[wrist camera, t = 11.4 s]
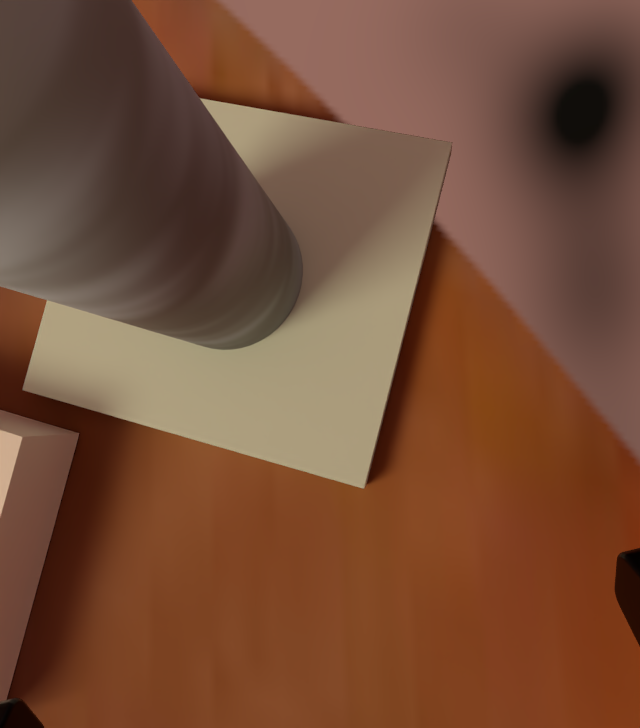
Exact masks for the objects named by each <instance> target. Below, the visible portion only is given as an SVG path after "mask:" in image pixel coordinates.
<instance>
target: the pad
mask: <svg viewBox="0 0 640 728" xmlns="http://www.w3.org/2000/svg"><path fill="white" fill-rule="evenodd" d="M200 100H201V101H202V102H203V104H204V105H205V107H206V108H207V110H208V111H209V112H210V114H211V115H212V117H213V118H214V120H215V121H216V122H217V124H218V125H219V127H220V128H221V130H222V131H223V133H224V134H225V135H226V137H227V138H228V140H229V141H230V143H231V144H232V145H233V147H234V148H235V150H236V151H237V153H238V154H239V156H240V157H241V158H242V160H243V161H244V163H245V164H246V166H247V167H248V168H249V170H250V171H251V173H252V174H253V176H254V177H255V178H256V180H257V181H258V183H259V184H260V186H261V187H262V189H263V190H264V191H265V193H266V194H267V196H268V197H269V199H270V200H271V201H272V203H273V204H274V206H275V207H276V209H277V210H278V211H279V213H280V214H281V216H282V217H283V219H284V220H285V222H286V223H287V224H288V226H289V227H290V229H291V231H292V232H293V234H294V236H295V238H296V240H297V242H298V245H299V248H300V252H301V256H302V263H303V277H302V285H301V289H300V293H299V296H298V298H297V301H296V303H295V306H294V307H293V309H292V311H291V313H290V314H289V316H288V317H287V318H286V320H285V321H284V322H283V323H282V324H281V325H280V326H279V328H278V329H277V330H275V331H274V332H273V333H272V334H270V335H269V336H268V337H266V338H264V339H263V340H261V341H259V342H257V343H255V344H253V345H250V346H247V347H243V348H239V349H233V350H218V349H211V348H207V347H203V346H200V345H196V344H193V343H190V342H186V341H183V340H180V339H176V338H173V337H169V336H166V335H163V334H159V333H156V332H153V331H149V330H146V329H143V328H139V327H136V326H132V325H129V324H126V323H122V322H119V321H116V320H112V319H109V318H106V317H102V316H99V315H95V314H92V313H89V312H85V311H82V310H79V309H75V308H72V307H69V306H65V305H62V304H58V303H55V302H52V301H48V300H47V303H46V306H45V310H44V313H43V317H42V321H41V324H40V328H39V331H38V335H37V339H36V342H35V346H34V349H33V353H32V357H31V360H30V364H29V367H28V371H27V375H26V378H25V382H24V385H23V389H22V390H24V391H27V392H31V393H34V394H38V395H41V396H44V397H48V398H51V399H55V400H58V401H62V402H65V403H69V404H72V405H76V406H79V407H83V408H86V409H90V410H93V411H96V412H100V413H103V414H107V415H110V416H114V417H117V418H121V419H124V420H128V421H131V422H135V423H138V424H141V425H145V426H148V427H152V428H155V429H159V430H162V431H166V432H169V433H173V434H176V435H180V436H183V437H187V438H190V439H193V440H197V441H200V442H204V443H207V444H211V445H214V446H218V447H221V448H225V449H228V450H232V451H235V452H238V453H242V454H245V455H249V456H252V457H256V458H259V459H263V460H266V461H270V462H273V463H277V464H280V465H284V466H287V467H290V468H294V469H297V470H301V471H304V472H308V473H311V474H315V475H318V476H322V477H325V478H329V479H332V480H336V481H339V482H342V483H346V484H349V485H353V486H356V487H360V488H363V489H364V488H365V487H366V485H367V481H368V477H369V473H370V469H371V465H372V461H373V457H374V453H375V449H376V445H377V442H378V438H379V434H380V430H381V426H382V422H383V418H384V414H385V410H386V406H387V402H388V398H389V394H390V391H391V387H392V383H393V379H394V375H395V371H396V367H397V363H398V359H399V355H400V351H401V347H402V344H403V340H404V336H405V332H406V328H407V324H408V320H409V316H410V312H411V308H412V304H413V300H414V297H415V293H416V289H417V285H418V281H419V277H420V273H421V269H422V265H423V261H424V257H425V253H426V249H427V246H428V242H429V238H430V234H431V230H432V226H433V222H434V218H435V214H436V210H437V206H438V202H439V198H440V194H441V191H442V187H443V183H444V179H445V175H446V171H447V167H448V163H449V159H450V155H451V149H452V142H446V141H441V140H435V139H429V138H424V137H418V136H412V135H407V134H401V133H395V132H389V131H384V130H377V129H372V128H366V127H361V126H355V125H349V124H344V123H338V122H332V121H327V120H321V119H315V118H309V117H304V116H298V115H292V114H287V113H281V112H275V111H269V110H264V109H258V108H252V107H247V106H241V105H235V104H229V103H224V102H218V101H212V100H207V99H201V98H200Z"/></svg>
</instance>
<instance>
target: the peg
mask: <svg viewBox="0 0 640 728" xmlns="http://www.w3.org/2000/svg"><path fill="white" fill-rule="evenodd" d="M302 277H303V263H302V256H301V252H300V248H299V245H298V242H297V240H296V238H295V236H294V234H293V232H292V231H291V229H290V227H289V226H288V224H287V223H286V222H285V220H284V219H283V217H282V216H281V214H280V213H279V211H278V210H277V209H276V207H275V206H274V204H273V203H272V201H271V200H270V199H269V197H268V196H267V194H266V193H265V191H264V190H263V189H262V187H261V186H260V184H259V183H258V181H257V180H256V178H255V177H254V176H253V174H252V173H251V171H250V170H249V168H248V167H247V166H246V164H245V163H244V161H243V160H242V158H241V157H240V156H239V154H238V153H237V151H236V150H235V148H234V147H233V145H232V144H231V143H230V141H229V140H228V138H227V137H226V135H225V134H224V133H223V131H222V130H221V128H220V127H219V125H218V124H217V122H216V121H215V120H214V118H213V117H212V115H211V114H210V112H209V111H208V110H207V108H206V107H205V105H204V104H203V102H202V101H201V100H200V98H199V97H198V95H197V94H196V92H195V91H194V89H193V88H192V87H191V85H190V84H189V82H188V81H187V79H186V78H185V77H184V75H183V74H182V72H181V71H180V69H179V68H178V67H177V65H176V64H175V62H174V61H173V59H172V58H171V56H170V55H169V54H168V52H167V51H166V49H165V48H164V46H163V45H162V44H161V42H160V41H159V39H158V38H157V36H156V35H155V33H154V32H153V31H152V29H151V28H150V26H149V25H148V23H147V22H146V21H145V19H144V18H143V16H142V15H141V13H140V12H139V11H138V9H137V8H136V6H135V5H134V3H133V2H132V0H0V286H1V287H5V288H8V289H11V290H15V291H18V292H21V293H25V294H28V295H31V296H35V297H38V298H42V299H45V300H48V301H52V302H55V303H58V304H62V305H65V306H69V307H72V308H75V309H79V310H82V311H85V312H89V313H92V314H95V315H99V316H102V317H106V318H109V319H112V320H116V321H119V322H122V323H126V324H129V325H132V326H136V327H139V328H143V329H146V330H149V331H153V332H156V333H159V334H163V335H166V336H169V337H173V338H176V339H180V340H183V341H186V342H190V343H193V344H196V345H200V346H203V347H207V348H211V349H218V350H233V349H239V348H243V347H247V346H250V345H253V344H255V343H257V342H259V341H261V340H263V339H264V338H266V337H268V336H269V335H270V334H272V333H273V332H274V331H275V330H277V329H278V328H279V326H280V325H281V324H282V323H283V322H284V321H285V320H286V318H287V317H288V316H289V314H290V313H291V311H292V309H293V307H294V306H295V303H296V301H297V298H298V296H299V293H300V289H301V285H302Z"/></svg>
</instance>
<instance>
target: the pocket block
mask: <svg viewBox="0 0 640 728" xmlns="http://www.w3.org/2000/svg"><path fill="white" fill-rule="evenodd" d="M78 437H79V433H77V432H73V431H70V430H67V429H63V428H60V427H57V426H53V425H50V424H47V423H43V422H40V421H36V420H33V419H30V418H26V417H23V416H20V415H16V414H13V413H10V412H6V411H3V410H0V701H4V700H7V696H8V693H9V689H10V685H11V682H12V678H13V674H14V671H15V667H16V663H17V660H18V656H19V652H20V649H21V645H22V642H23V638H24V634H25V631H26V627H27V623H28V620H29V616H30V612H31V609H32V605H33V601H34V598H35V594H36V590H37V587H38V583H39V579H40V576H41V572H42V568H43V565H44V561H45V557H46V554H47V550H48V547H49V543H50V539H51V536H52V532H53V528H54V525H55V521H56V517H57V514H58V510H59V506H60V503H61V499H62V495H63V492H64V488H65V484H66V481H67V477H68V473H69V470H70V466H71V463H72V459H73V455H74V452H75V448H76V444H77V441H78Z"/></svg>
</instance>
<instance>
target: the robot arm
mask: <svg viewBox="0 0 640 728" xmlns="http://www.w3.org/2000/svg"><path fill="white" fill-rule="evenodd" d="M615 594H616V598H617V601H618V603H619V605H620V608H621V610H622V612H623V614H624V616H625V618H626V620H627V622H628V624H629V626H630V628H631V630H632V632H633V634H634V636H635V638H636V640H637V642H638V644H639V646H640V548H638V549H633V550H629V551H625V552H622V553H620V554H619V556H618V557H617V565H616V577H615ZM0 728H44V726H43V724H42V723H41V722H40V720H39V719H38V718H37V717H36V715H35V714H34V713H33V712H32V711H31V709H30V708H29V707H28V706H27V705H26V703H25V702H24V701H23V700H22V699H19V698H12V699H8V700H4V701H0Z"/></svg>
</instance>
